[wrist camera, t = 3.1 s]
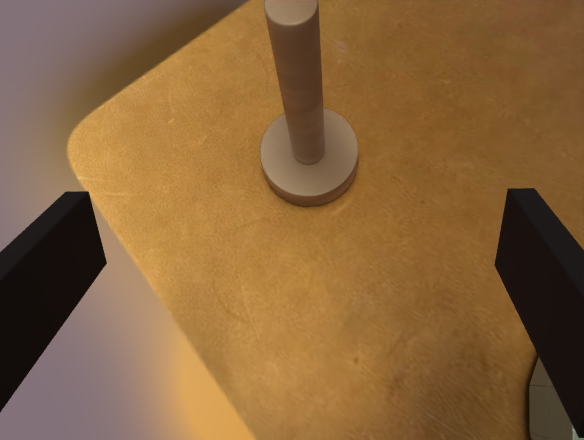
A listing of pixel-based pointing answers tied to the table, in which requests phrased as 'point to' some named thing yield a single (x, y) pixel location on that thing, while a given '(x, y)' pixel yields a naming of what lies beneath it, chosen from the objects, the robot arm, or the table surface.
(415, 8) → the table surface
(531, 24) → the table surface
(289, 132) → the stick
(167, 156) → the table surface
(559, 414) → the bowl
